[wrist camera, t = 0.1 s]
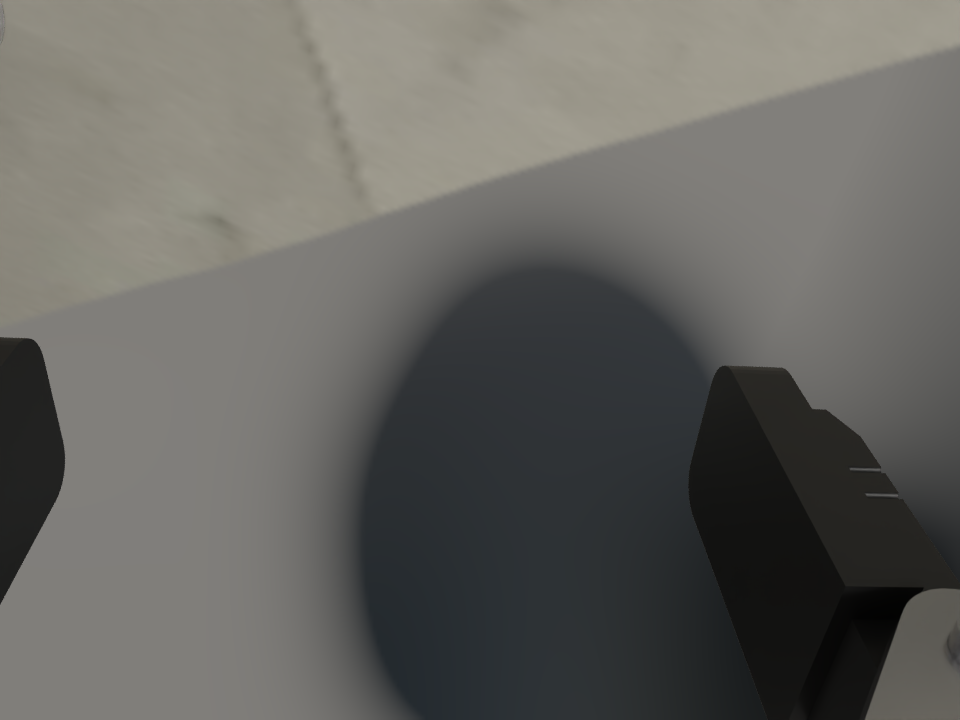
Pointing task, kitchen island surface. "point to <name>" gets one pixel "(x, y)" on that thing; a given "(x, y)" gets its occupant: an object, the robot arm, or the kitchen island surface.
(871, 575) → the robot arm
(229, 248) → the kitchen island surface
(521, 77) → the kitchen island surface
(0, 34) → the house plant
